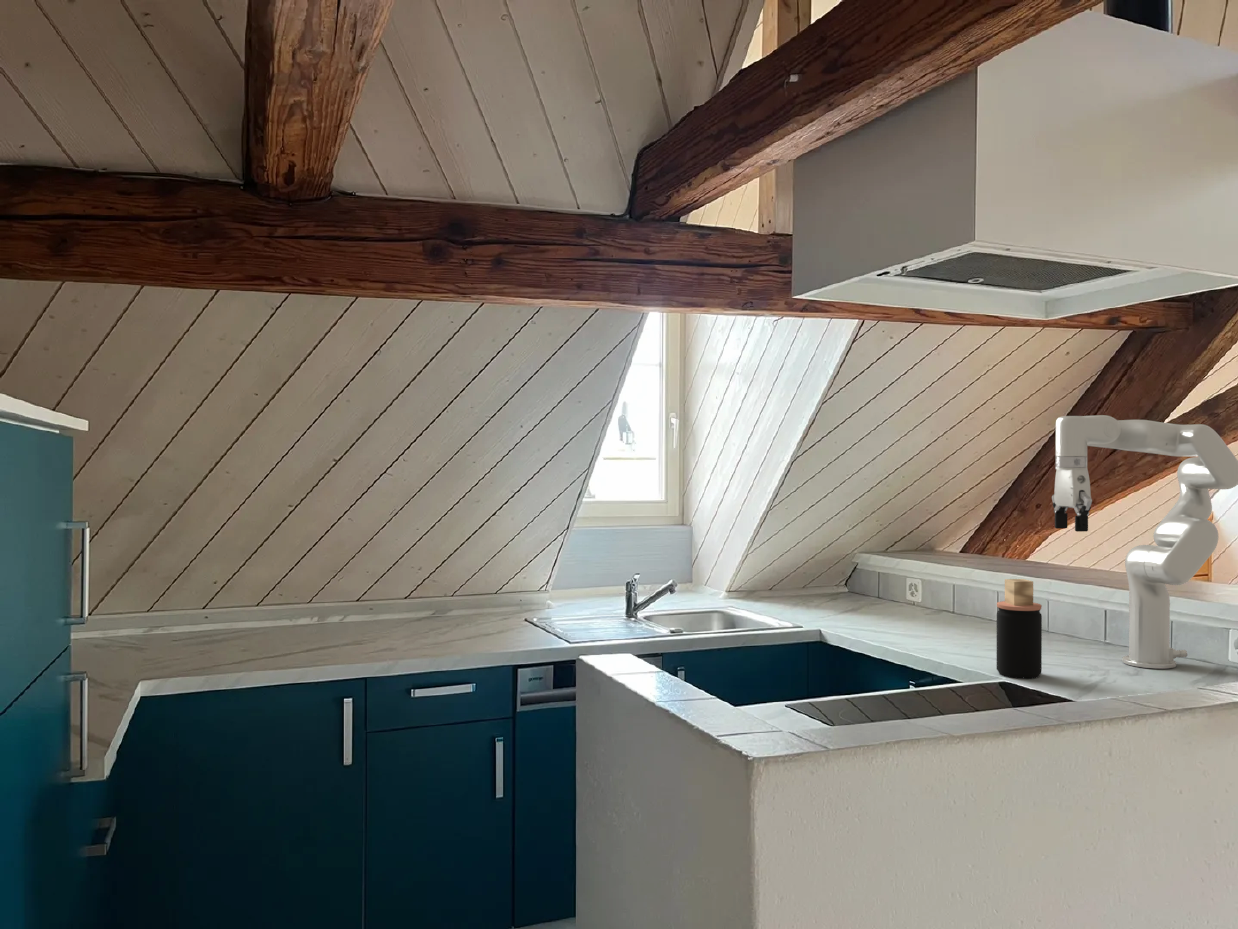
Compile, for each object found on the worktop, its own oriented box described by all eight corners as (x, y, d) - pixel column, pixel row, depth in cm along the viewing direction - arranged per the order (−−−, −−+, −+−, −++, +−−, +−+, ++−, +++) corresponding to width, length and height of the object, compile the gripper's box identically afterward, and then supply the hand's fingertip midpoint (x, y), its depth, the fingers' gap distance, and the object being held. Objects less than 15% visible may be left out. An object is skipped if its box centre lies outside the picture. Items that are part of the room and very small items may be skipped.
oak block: (1023, 602, 256) (1023, 579, 255) (1033, 605, 251) (1033, 581, 250) (1004, 602, 255) (1004, 579, 255) (1014, 605, 250) (1014, 581, 250)
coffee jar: (1030, 669, 259) (1030, 600, 258) (1049, 679, 248) (1049, 607, 248) (989, 670, 258) (989, 601, 258) (1007, 679, 248) (1007, 607, 247)
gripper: (1104, 464, 249) (1104, 532, 250) (1067, 463, 267) (1067, 527, 267) (1075, 464, 249) (1075, 532, 249) (1040, 463, 266) (1040, 527, 266)
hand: (1071, 529), depth 258 cm, fingers open, 9 cm apart
